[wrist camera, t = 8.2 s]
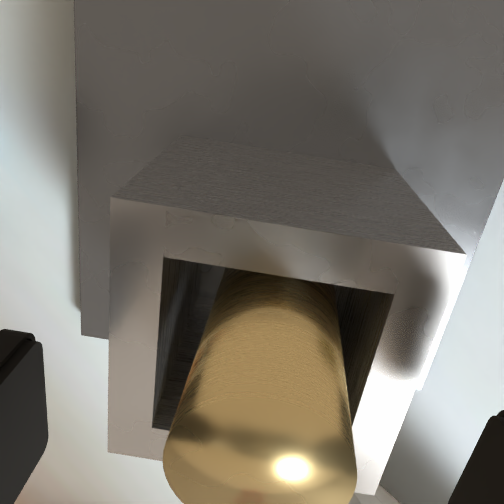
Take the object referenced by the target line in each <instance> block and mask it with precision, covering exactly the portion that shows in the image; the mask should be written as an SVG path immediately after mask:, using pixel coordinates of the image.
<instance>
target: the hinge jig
mask: <svg viewBox="0 0 504 504" xmlns="http://www.w3.org/2000/svg"><path fill="white" fill-rule="evenodd" d="M74 19H75V66H76V113H77V160H78V207H79V254H80V300H81V335H84V336H90V337H96V338H102V339H109V376H108V452H110V453H116V454H122V455H129V456H135V457H141V458H147V459H153V460H159V461H163V450H164V446H165V443H166V440H167V437H168V434H169V431H170V428H171V425H172V422H173V419H174V416H175V413H176V411H177V408H178V405H179V402H180V399H181V396H182V393H183V390H184V387H185V384H186V381H187V378H188V375H189V373H190V370H191V367H192V364H193V361H194V358H195V355H196V352H197V349H198V346H199V343H200V340H201V338H202V335H203V332H204V329H205V326H206V323H207V320H208V317H209V314H210V311H211V308H212V305H213V302H214V300H215V297H216V294H217V291H218V288H219V285H220V282H221V279H222V276H223V273H224V270H225V267H228V268H234V269H240V270H247V271H253V272H259V273H265V274H272V275H278V276H284V277H290V278H296V279H303V280H309V281H315V282H321V283H327V284H334V288H335V296H336V304H337V312H338V320H339V328H340V336H341V344H342V352H343V361H344V369H345V377H346V385H347V393H348V401H349V409H350V417H351V425H352V433H353V441H354V449H355V457H356V465H357V483H356V488H355V491H354V492H355V493H362V494H368V495H375V492H376V490H377V487H378V485H379V482H380V479H381V477H382V474H383V472H384V469H385V466H386V464H387V461H388V459H389V456H390V453H391V451H392V448H393V446H394V443H395V440H396V438H397V435H398V433H399V430H400V427H401V425H402V422H403V420H404V417H405V414H406V412H407V409H408V407H409V404H410V401H411V399H412V396H413V394H414V391H415V389H417V390H421V388H422V386H423V383H424V380H425V378H426V375H427V373H428V370H429V368H430V365H431V363H432V360H433V357H434V355H435V352H436V350H437V347H438V345H439V342H440V340H441V337H442V335H443V332H444V329H445V327H446V324H447V322H448V319H449V317H450V314H451V312H452V309H453V306H454V304H455V301H456V299H457V296H458V294H459V291H460V289H461V286H462V284H463V281H464V278H465V276H466V273H467V271H468V268H469V266H470V263H471V261H472V258H473V255H474V253H475V250H476V248H477V245H478V243H479V240H480V238H481V235H482V233H483V230H484V227H485V225H486V222H487V220H488V217H489V215H490V212H491V210H492V207H493V204H494V202H495V199H496V197H497V194H498V192H499V189H500V187H501V184H502V182H503V179H504V0H74Z"/></svg>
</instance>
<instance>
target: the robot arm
mask: <svg viewBox="0 0 504 504" xmlns="http://www.w3.org/2000/svg"><path fill="white" fill-rule="evenodd" d="M47 442H48V422H47V407H46V392H45V377H44V362H43V348H42V344H41V343H40V342H37V341H35V337H34V335H33V334H31V333H26V332H20V331H14V330H8V329H3V330H1V331H0V504H14V502H15V500H16V499H17V497H18V495H19V494H20V492H21V490H22V489H23V487H24V485H25V484H26V482H27V480H28V478H29V477H30V475H31V473H32V472H33V470H34V468H35V467H36V465H37V463H38V462H39V460H40V458H41V457H42V455H43V453H44V451H45V448H46V445H47ZM448 504H504V410H502V411H501V412H499V413H498V415H497V416H492V417H490V419H489V420H488V422H487V424H486V426H485V428H484V430H483V432H482V434H481V436H480V438H479V440H478V442H477V444H476V446H475V448H474V451H473V453H472V455H471V457H470V459H469V461H468V463H467V465H466V467H465V469H464V471H463V473H462V475H461V477H460V479H459V481H458V483H457V485H456V487H455V489H454V491H453V493H452V495H451V497H450V499H449V502H448Z"/></svg>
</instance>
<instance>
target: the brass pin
mask: <svg viewBox="0 0 504 504" xmlns="http://www.w3.org/2000/svg"><path fill="white" fill-rule="evenodd" d="M163 469H164V472H165V476H166V479H167V481H168V483H169V485H170V487H171V488H172V490H173V491H174V493H175V494H176V496H177V497H178V498H179V499H180V500H181V501H182V502H183V503H184V504H348V503H349V502H350V500H351V498H352V496H353V494H354V491H355V488H356V483H357V465H356V457H355V449H354V441H353V433H352V425H351V417H350V409H349V401H348V393H347V385H346V377H345V369H344V361H343V352H342V344H341V336H340V328H339V320H338V312H337V304H336V296H335V288H334V284H327V283H321V282H315V281H309V280H303V279H296V278H290V277H284V276H278V275H272V274H265V273H259V272H253V271H247V270H240V269H234V268H228V267H225V270H224V273H223V276H222V279H221V282H220V285H219V288H218V291H217V294H216V297H215V300H214V302H213V305H212V308H211V311H210V314H209V317H208V320H207V323H206V326H205V329H204V332H203V335H202V338H201V340H200V343H199V346H198V349H197V352H196V355H195V358H194V361H193V364H192V367H191V370H190V373H189V375H188V378H187V381H186V384H185V387H184V390H183V393H182V396H181V399H180V402H179V405H178V408H177V411H176V413H175V416H174V419H173V422H172V425H171V428H170V431H169V434H168V437H167V440H166V443H165V446H164V450H163Z"/></svg>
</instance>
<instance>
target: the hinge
mask: <svg viewBox="0 0 504 504" xmlns="http://www.w3.org/2000/svg"><path fill="white" fill-rule="evenodd" d="M348 504H401V503H400V502H399V501H397V500H396V499H395V498H394V497H393V496H392V495H391V494H390V493H388V492H387V491H386V490H385V489H384V488H383V487H382V486H381V485H378V487H377V490H376V492H375V495H368V494H362V493H355V492H354V494H353V496H352V498H351V500H350V502H349V503H348Z"/></svg>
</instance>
